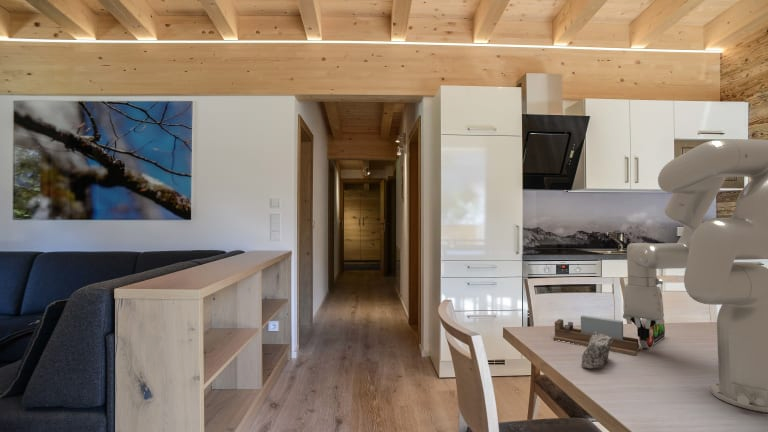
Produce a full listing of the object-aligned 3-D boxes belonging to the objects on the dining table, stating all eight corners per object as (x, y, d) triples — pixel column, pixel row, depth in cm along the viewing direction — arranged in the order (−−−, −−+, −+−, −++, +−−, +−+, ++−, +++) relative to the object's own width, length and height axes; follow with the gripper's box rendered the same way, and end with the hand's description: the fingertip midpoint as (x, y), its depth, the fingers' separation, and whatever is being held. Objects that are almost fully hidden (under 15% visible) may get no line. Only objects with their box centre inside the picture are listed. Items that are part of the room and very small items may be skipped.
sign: (659, 336, 130) (658, 309, 130) (665, 338, 128) (664, 310, 129) (639, 350, 116) (638, 319, 116) (646, 352, 114) (645, 320, 115)
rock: (598, 375, 96) (601, 337, 97) (566, 365, 102) (569, 329, 103) (620, 371, 105) (622, 336, 106) (589, 361, 112) (592, 329, 113)
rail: (635, 355, 111) (635, 336, 111) (553, 340, 126) (553, 323, 127) (639, 348, 117) (638, 330, 118) (560, 334, 133) (560, 318, 133)
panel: (622, 347, 116) (621, 322, 116) (581, 339, 124) (580, 316, 124) (623, 345, 117) (622, 320, 118) (582, 338, 125) (582, 315, 126)
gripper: (672, 282, 111) (674, 341, 111) (616, 278, 121) (617, 332, 121) (671, 285, 106) (673, 348, 105) (612, 280, 116) (613, 337, 115)
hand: (643, 339), depth 113 cm, fingers closed
